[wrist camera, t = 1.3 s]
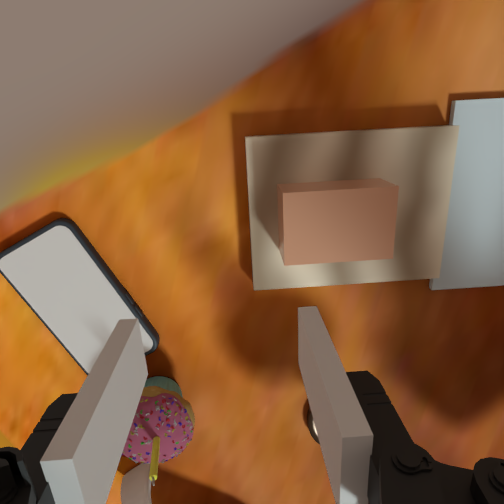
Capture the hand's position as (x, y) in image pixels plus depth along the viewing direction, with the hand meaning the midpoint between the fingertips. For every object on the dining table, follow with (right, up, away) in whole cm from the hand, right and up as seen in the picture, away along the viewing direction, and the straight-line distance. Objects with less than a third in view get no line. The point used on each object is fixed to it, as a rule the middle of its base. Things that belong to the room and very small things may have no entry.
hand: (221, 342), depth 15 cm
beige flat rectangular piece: (+10, +8, +20) cm, 24 cm away
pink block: (+8, +7, +18) cm, 21 cm away
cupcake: (-9, -12, +26) cm, 30 cm away
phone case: (-16, -1, +23) cm, 28 cm away
